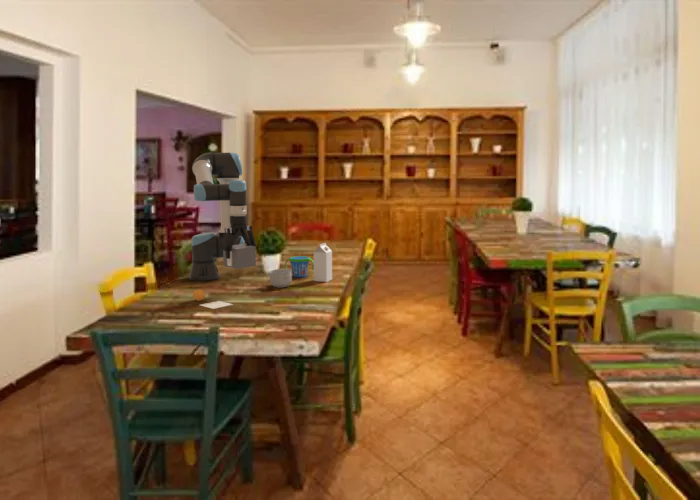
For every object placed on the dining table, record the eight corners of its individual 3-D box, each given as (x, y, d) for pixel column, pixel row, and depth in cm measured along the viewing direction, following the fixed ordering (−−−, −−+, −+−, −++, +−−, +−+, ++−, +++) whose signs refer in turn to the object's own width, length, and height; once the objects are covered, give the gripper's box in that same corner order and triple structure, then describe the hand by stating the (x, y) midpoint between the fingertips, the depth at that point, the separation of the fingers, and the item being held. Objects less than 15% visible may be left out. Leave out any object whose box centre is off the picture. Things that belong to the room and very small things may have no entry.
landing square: (198, 305, 243) (198, 304, 243) (218, 301, 250) (218, 300, 250) (213, 309, 236) (213, 308, 236) (233, 304, 244) (233, 304, 244)
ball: (191, 300, 251) (190, 289, 250) (200, 298, 255) (200, 287, 254) (197, 302, 248) (197, 291, 247) (207, 300, 252) (207, 289, 251)
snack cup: (282, 277, 304) (282, 258, 303) (289, 274, 314) (288, 255, 313) (310, 279, 300) (310, 259, 299) (316, 275, 310) (316, 256, 309)
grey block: (223, 266, 262) (223, 246, 261) (241, 263, 270) (241, 244, 268) (237, 268, 256) (237, 249, 254) (255, 265, 263) (255, 246, 262)
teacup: (287, 289, 275) (287, 272, 274) (266, 288, 277) (265, 271, 276) (296, 283, 289) (296, 267, 287) (275, 282, 291) (275, 267, 290)
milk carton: (313, 281, 294) (313, 244, 292) (319, 278, 301) (319, 242, 298) (326, 282, 292) (326, 244, 289) (332, 279, 298) (332, 243, 295)
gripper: (222, 217, 248) (224, 268, 252) (263, 213, 265) (264, 261, 269) (211, 216, 253) (213, 266, 256) (252, 212, 270) (253, 259, 273)
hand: (239, 264), depth 262 cm, fingers closed on grey block, 10 cm apart
